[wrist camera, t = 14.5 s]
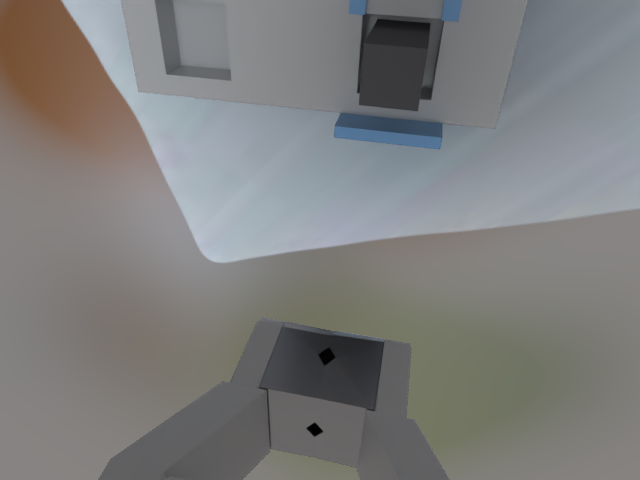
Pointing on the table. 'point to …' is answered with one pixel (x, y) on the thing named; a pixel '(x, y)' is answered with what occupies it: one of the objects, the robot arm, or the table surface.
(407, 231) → the table surface
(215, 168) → the table surface
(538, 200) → the table surface
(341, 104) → the grey board with holes
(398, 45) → the dark rectangular block
